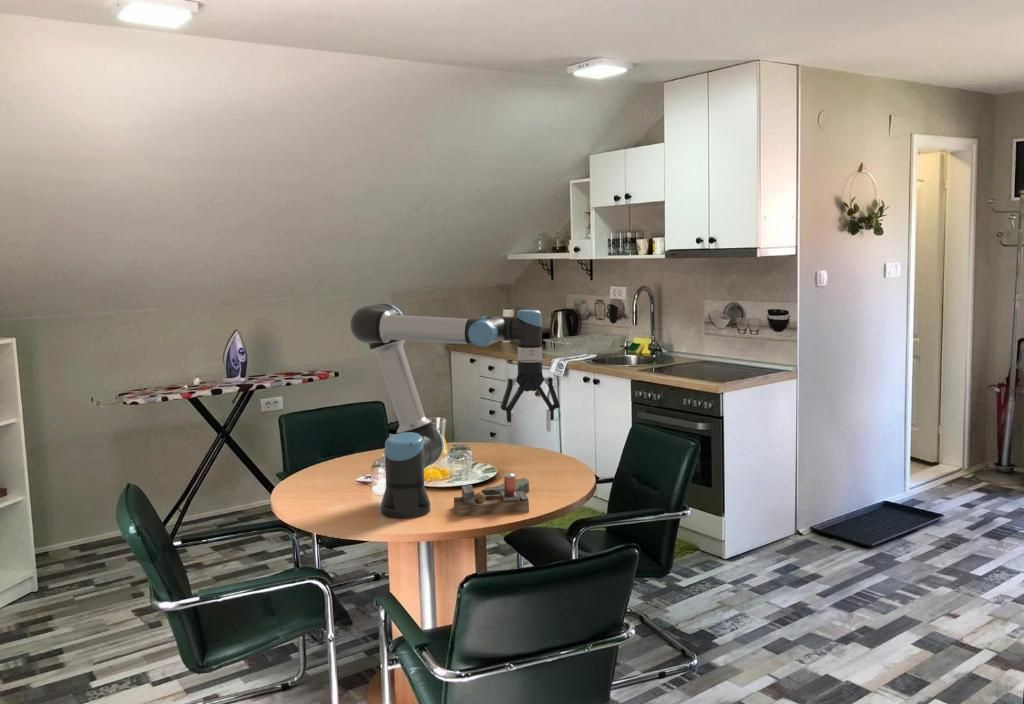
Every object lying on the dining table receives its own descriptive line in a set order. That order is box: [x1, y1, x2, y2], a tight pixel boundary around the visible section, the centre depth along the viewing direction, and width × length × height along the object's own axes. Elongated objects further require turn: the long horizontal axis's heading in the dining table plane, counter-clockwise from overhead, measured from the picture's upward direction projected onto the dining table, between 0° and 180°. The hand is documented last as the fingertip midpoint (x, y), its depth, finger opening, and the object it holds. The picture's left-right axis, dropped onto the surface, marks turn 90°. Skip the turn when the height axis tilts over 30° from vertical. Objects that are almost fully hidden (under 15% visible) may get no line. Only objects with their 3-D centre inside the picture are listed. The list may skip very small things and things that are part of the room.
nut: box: [475, 491, 485, 504], centre depth 258 cm, size 4×4×4 cm
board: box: [453, 484, 530, 517], centre depth 259 cm, size 22×10×7 cm, turn 99°
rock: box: [481, 477, 530, 495], centre depth 275 cm, size 12×16×5 cm
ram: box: [500, 472, 520, 502], centre depth 259 cm, size 5×7×8 cm
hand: (530, 431), depth 259 cm, fingers open, 11 cm apart
